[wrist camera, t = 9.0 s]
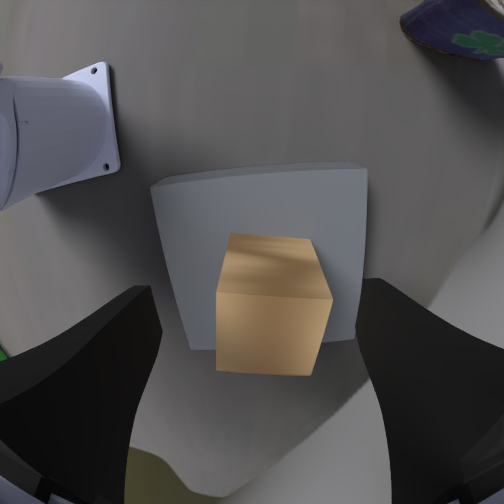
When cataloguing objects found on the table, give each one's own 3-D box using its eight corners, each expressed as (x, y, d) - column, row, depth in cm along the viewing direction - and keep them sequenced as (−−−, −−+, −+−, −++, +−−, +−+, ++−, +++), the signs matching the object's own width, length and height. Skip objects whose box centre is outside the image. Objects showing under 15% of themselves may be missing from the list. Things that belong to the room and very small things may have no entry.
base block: (197, 324, 23) (190, 350, 20) (165, 177, 18) (149, 187, 15) (345, 314, 22) (354, 338, 20) (351, 161, 17) (367, 168, 14)
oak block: (227, 299, 18) (216, 370, 13) (230, 232, 16) (216, 291, 11) (298, 304, 18) (310, 375, 13) (310, 239, 16) (333, 299, 11)
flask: (486, 37, 11) (580, 28, 2) (492, 68, 13) (590, 72, 3) (394, 8, 12) (486, -47, 2) (401, 44, 13) (507, 7, 4)
